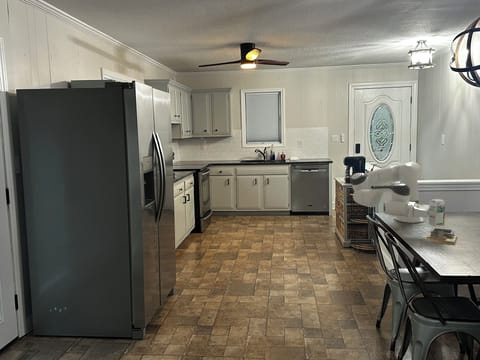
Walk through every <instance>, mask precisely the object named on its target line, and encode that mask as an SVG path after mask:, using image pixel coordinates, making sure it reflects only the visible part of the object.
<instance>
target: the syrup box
mask: <svg viewBox="0 0 480 360" xmlns="http://www.w3.org/2000/svg"><path fill="white" fill-rule="evenodd" d="M428 202H429V204H428V205H429V208H430V209H429V211H438V214H437V215H428V224H429V226H432V227H444V226H445V212H446V211H445V209H446V200H445V199H442V198H434V199H429V201H428Z"/></svg>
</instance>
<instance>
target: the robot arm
mask: <svg viewBox="0 0 480 360" xmlns="http://www.w3.org/2000/svg"><path fill="white" fill-rule="evenodd" d="M421 171H422V168H421V166H420V165H419V163H417V162H415V161H408V162H404V163H399V164H396V165H391V166H387V167H382V168H380V169H379V168H378V169H375V170H374V169H373V170H372V171H369V172H367V173H364V172H355V173H354V174H352V175H351V176H350V178H349V181H350V185H351V186H352V189H353V194H352V198H353V199H352V200H353V201H354V202H355V203H357V204H359V205H361V206H364V207H367V208H368V207H369V208H374V207H376V206H379V204H380V203H381V202H382V199H383V196H384V194H385V193H386V192H390V193H391V200H385V201H384V202H383V213H384V214H385V215H389V216H395V217H394V218H393V220H394V221H395V220H396V221H398V222H403V223H410V224H411V223H424V222H425V221H424V218H427V217H429V215H437V214H438V211H429V209H430V208H429V204H420V201H419V183H418V176H420V174H421ZM398 182H399V183H398ZM395 183H397V184H395Z"/></svg>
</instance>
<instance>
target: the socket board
mask: <svg viewBox="0 0 480 360" xmlns="http://www.w3.org/2000/svg"><path fill="white" fill-rule="evenodd" d="M457 239H458V234H456V233H455V229H451V228H450V229H449V228H441V227H432V229H431V230H430V231H429V233H428V234H427V236H426V237H425V242H429V243H437V244H444V245H445V244H446V245H455V243H456V241H457Z"/></svg>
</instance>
